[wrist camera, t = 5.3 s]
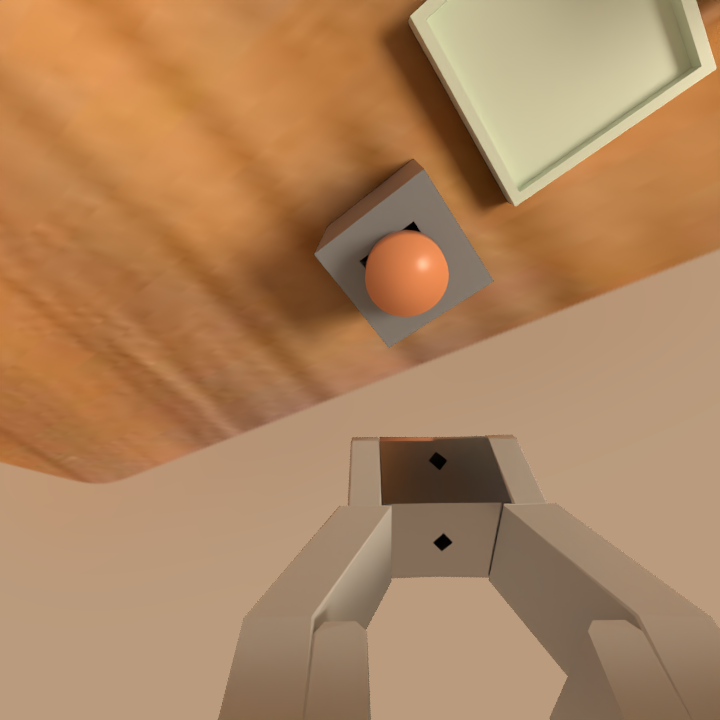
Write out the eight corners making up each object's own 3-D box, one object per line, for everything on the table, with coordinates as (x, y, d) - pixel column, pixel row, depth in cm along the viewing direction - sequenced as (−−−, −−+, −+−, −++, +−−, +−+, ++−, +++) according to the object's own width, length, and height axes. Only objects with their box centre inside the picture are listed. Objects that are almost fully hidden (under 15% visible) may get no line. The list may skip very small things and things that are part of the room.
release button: (354, 238, 23) (348, 269, 18) (409, 196, 22) (418, 218, 17) (392, 289, 24) (395, 331, 20) (445, 252, 23) (464, 287, 18)
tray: (407, 23, 20) (409, 15, 19) (617, -170, 17) (637, -194, 16) (507, 201, 24) (515, 206, 22) (694, 72, 21) (716, 68, 19)
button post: (327, 226, 25) (314, 254, 19) (413, 158, 23) (423, 169, 18) (386, 304, 27) (389, 347, 22) (469, 248, 25) (493, 281, 20)
